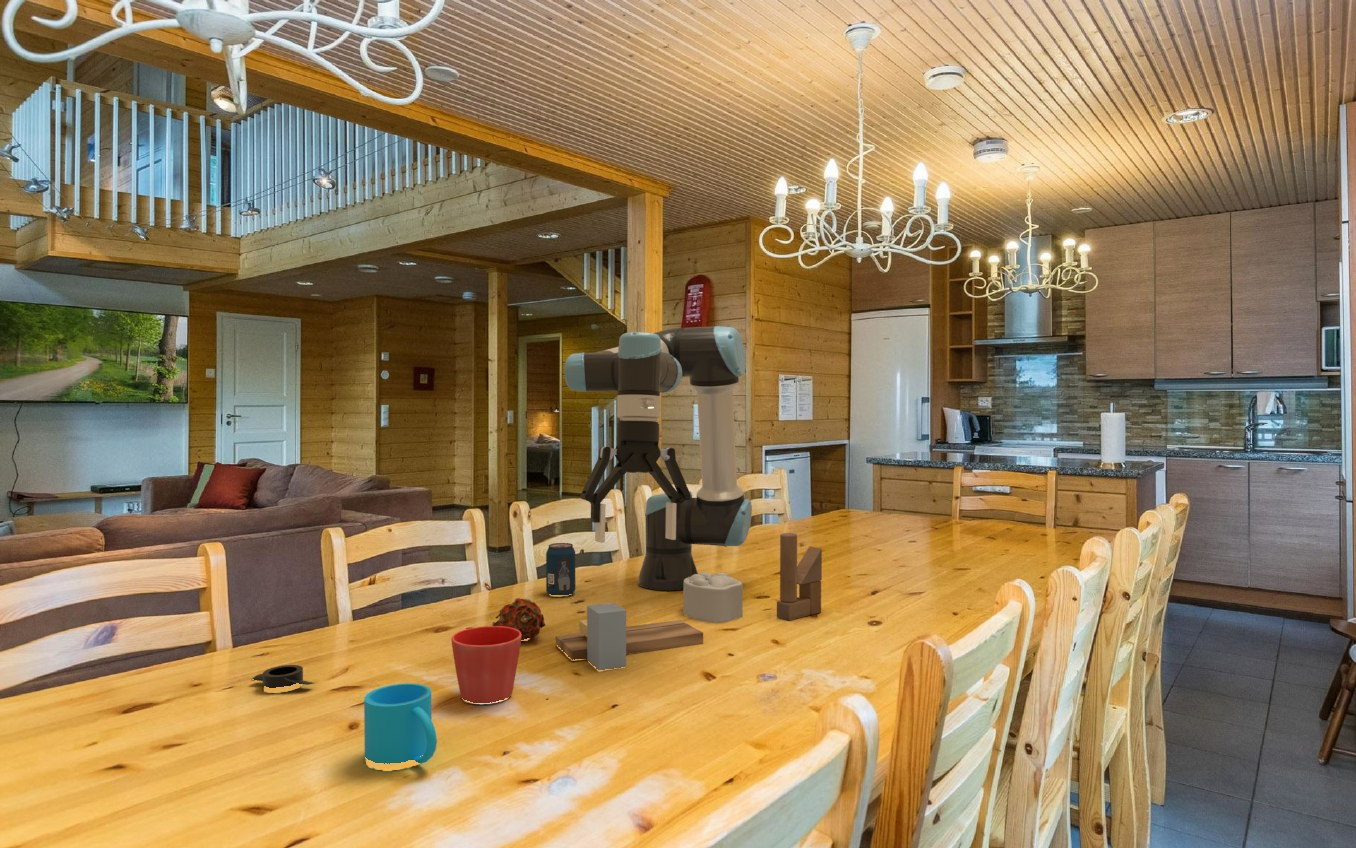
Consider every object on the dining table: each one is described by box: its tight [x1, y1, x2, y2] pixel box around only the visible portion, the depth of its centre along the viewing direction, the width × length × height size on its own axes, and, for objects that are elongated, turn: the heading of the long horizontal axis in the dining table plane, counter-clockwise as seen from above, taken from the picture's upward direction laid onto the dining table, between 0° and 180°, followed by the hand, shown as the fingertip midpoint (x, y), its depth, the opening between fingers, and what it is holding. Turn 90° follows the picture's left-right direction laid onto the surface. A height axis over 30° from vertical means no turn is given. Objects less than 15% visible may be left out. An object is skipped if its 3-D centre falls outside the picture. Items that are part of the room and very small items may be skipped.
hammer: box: [578, 602, 627, 670], centre depth 142 cm, size 15×5×10 cm, turn 26°
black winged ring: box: [251, 664, 315, 688], centre depth 127 cm, size 8×10×3 cm
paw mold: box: [682, 571, 744, 624], centre depth 171 cm, size 10×13×9 cm
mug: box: [363, 682, 438, 764], centre depth 100 cm, size 12×8×8 cm
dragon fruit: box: [491, 597, 546, 640], centre depth 153 cm, size 8×8×12 cm
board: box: [555, 619, 704, 660], centre depth 149 cm, size 10×26×2 cm, turn 116°
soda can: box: [545, 542, 576, 595], centre depth 189 cm, size 7×7×12 cm
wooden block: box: [776, 532, 823, 621], centre depth 170 cm, size 4×11×18 cm, turn 130°
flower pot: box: [451, 625, 522, 703], centre depth 123 cm, size 11×11×10 cm
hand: (635, 540), depth 139 cm, fingers open, 13 cm apart
